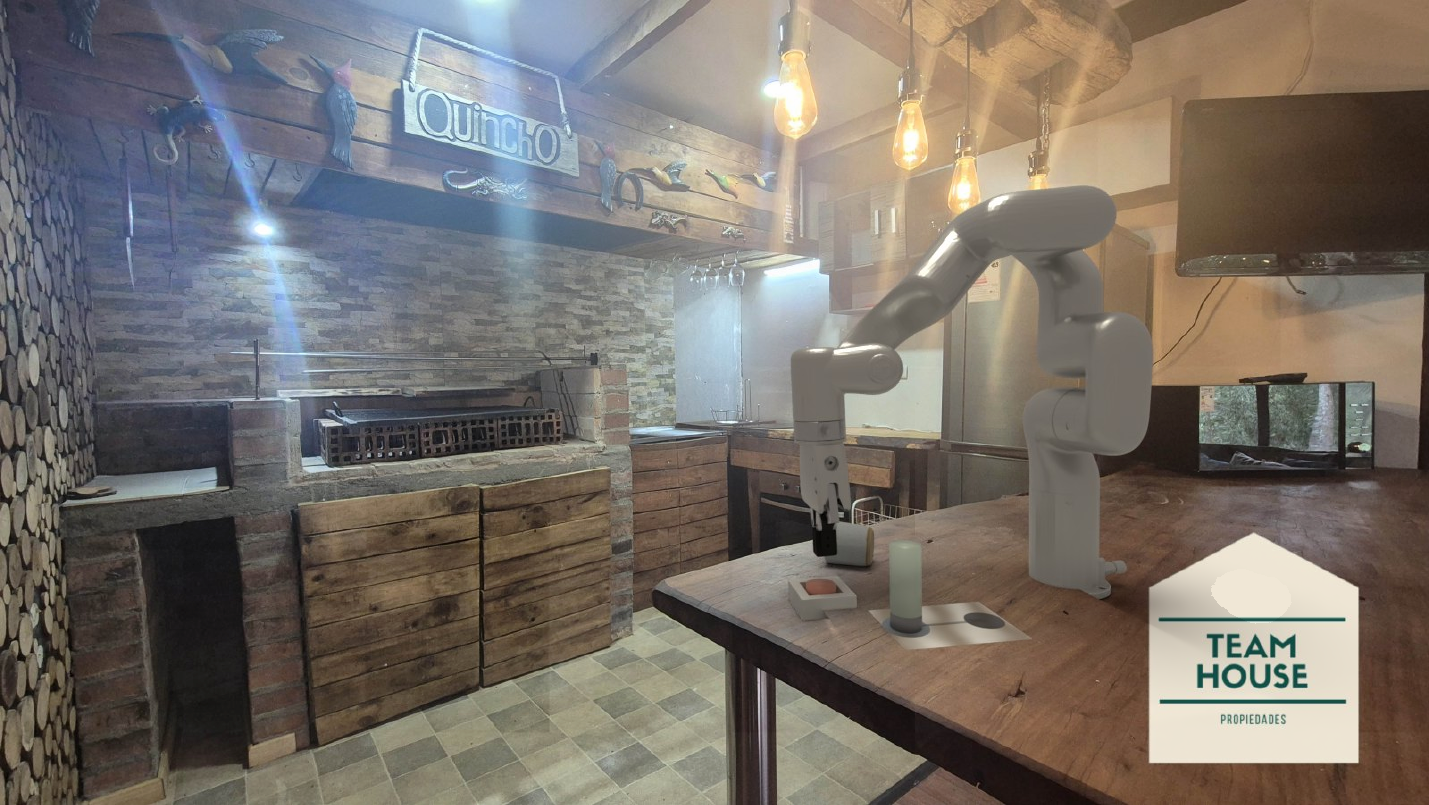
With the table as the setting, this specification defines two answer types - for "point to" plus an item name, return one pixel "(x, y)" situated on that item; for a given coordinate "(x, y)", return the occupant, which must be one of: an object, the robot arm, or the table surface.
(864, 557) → the ceramic mug
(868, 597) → the table surface
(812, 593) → the button
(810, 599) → the button housing
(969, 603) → the board
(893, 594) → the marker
